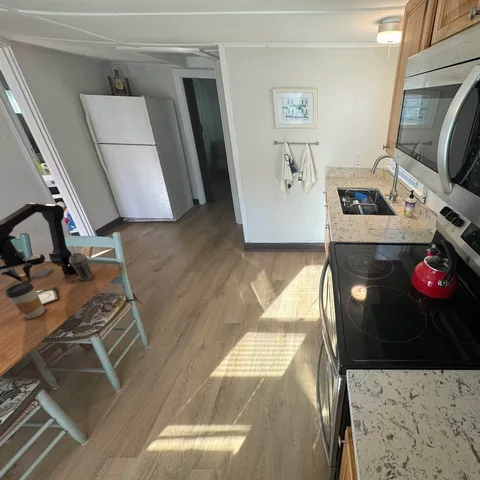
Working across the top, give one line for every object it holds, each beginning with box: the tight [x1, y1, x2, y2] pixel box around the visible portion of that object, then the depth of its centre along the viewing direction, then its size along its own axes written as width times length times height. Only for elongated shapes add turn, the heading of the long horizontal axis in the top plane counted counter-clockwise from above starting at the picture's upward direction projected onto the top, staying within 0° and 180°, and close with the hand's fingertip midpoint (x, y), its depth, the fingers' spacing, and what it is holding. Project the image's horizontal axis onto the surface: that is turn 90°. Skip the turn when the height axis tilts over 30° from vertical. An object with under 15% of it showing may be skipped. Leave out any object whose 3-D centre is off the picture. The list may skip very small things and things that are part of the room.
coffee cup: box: [5, 282, 45, 320], centre depth 117 cm, size 8×8×15 cm
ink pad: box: [31, 269, 51, 278], centre depth 148 cm, size 7×7×1 cm
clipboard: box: [36, 288, 59, 306], centre depth 129 cm, size 12×14×1 cm
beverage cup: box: [69, 244, 94, 282], centre depth 140 cm, size 7×7×20 cm
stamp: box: [18, 273, 32, 283], centre depth 126 cm, size 3×3×4 cm
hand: (25, 279), depth 126 cm, fingers closed on stamp, 2 cm apart
